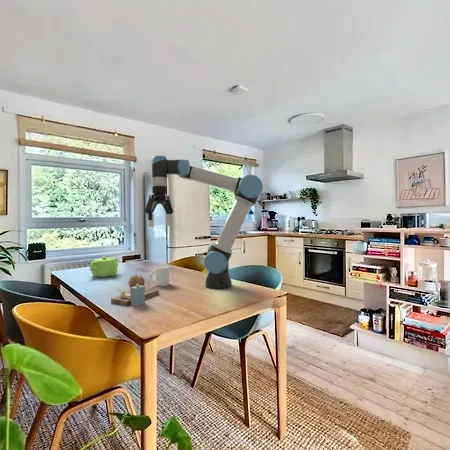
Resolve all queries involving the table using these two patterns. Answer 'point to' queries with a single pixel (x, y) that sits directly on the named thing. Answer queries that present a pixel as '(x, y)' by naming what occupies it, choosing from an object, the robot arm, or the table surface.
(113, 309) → the table surface
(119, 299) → the board
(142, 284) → the fruit
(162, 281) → the mug
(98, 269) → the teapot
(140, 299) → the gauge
